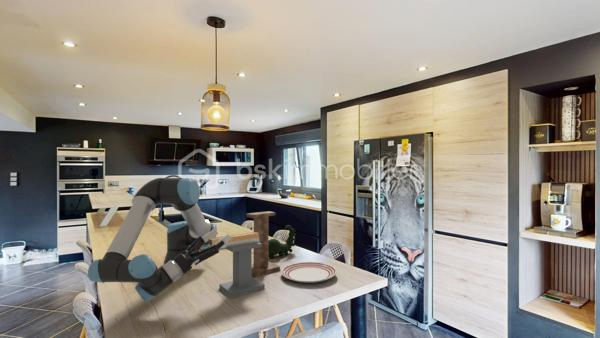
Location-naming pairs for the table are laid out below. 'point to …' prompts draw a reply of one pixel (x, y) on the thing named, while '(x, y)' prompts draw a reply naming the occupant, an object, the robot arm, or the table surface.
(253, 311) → the table surface
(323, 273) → the dinner plate
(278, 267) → the tall stand
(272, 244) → the dark green knobbed ball
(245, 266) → the low stand
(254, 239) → the brown and gray block
